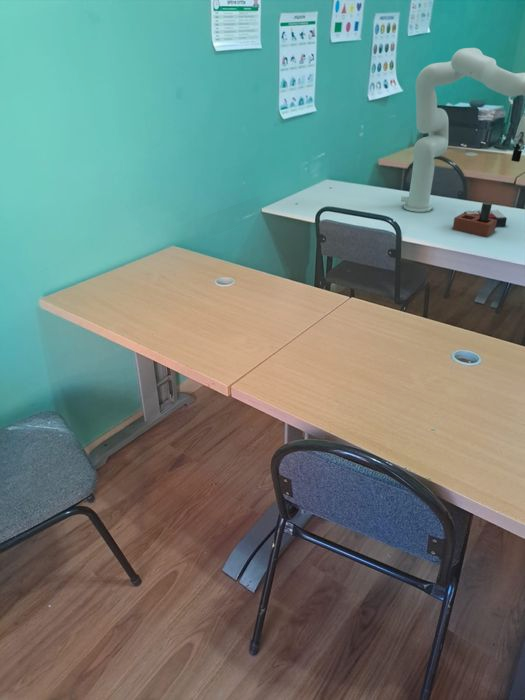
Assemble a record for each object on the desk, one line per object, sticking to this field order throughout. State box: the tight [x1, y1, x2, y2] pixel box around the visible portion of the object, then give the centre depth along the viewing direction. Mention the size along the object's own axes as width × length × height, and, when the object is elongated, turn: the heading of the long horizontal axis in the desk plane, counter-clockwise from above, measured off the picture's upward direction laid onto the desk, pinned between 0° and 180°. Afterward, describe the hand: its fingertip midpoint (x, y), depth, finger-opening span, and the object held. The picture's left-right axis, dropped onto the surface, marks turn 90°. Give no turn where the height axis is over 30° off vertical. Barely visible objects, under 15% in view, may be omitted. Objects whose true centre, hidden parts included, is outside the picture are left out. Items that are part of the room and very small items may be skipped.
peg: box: [479, 201, 493, 223], centre depth 211 cm, size 4×4×12 cm
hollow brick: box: [452, 212, 497, 238], centre depth 214 cm, size 15×8×5 cm, turn 48°
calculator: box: [463, 209, 508, 228], centre depth 223 cm, size 11×4×15 cm
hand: (522, 159), depth 201 cm, fingers open, 9 cm apart
